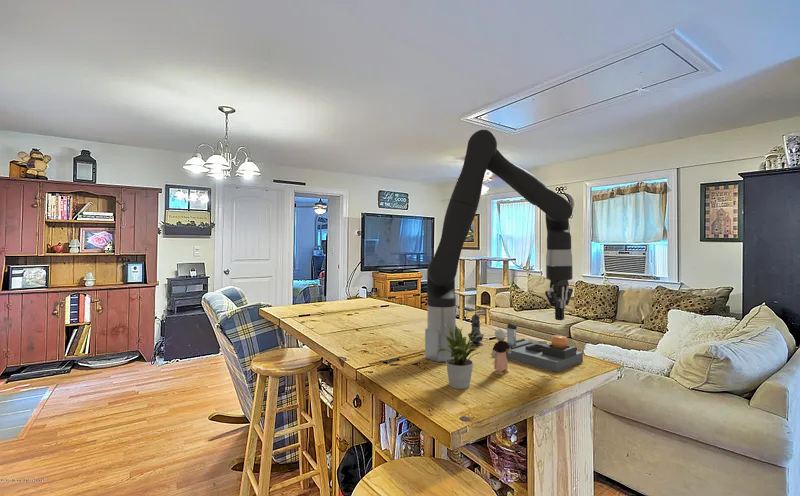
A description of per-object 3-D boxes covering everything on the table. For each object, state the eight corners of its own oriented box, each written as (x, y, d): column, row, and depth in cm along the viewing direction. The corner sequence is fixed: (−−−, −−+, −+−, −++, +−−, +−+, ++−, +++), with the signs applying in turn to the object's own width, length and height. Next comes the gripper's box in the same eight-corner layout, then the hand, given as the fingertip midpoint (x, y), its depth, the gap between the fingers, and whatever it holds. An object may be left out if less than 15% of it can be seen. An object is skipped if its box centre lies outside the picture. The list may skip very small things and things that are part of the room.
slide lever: (514, 347, 124) (514, 325, 124) (506, 345, 126) (506, 323, 126) (518, 346, 125) (518, 324, 125) (509, 344, 127) (509, 322, 127)
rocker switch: (538, 343, 119) (538, 340, 119) (527, 341, 122) (528, 338, 122) (546, 344, 122) (546, 341, 122) (536, 342, 125) (536, 339, 125)
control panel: (556, 372, 108) (556, 353, 108) (494, 355, 126) (494, 338, 126) (583, 361, 118) (583, 344, 118) (521, 347, 136) (521, 332, 136)
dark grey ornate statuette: (482, 342, 142) (482, 311, 142) (484, 346, 136) (484, 313, 136) (467, 342, 143) (467, 310, 143) (468, 346, 137) (468, 313, 137)
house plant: (418, 380, 102) (418, 320, 102) (458, 372, 109) (458, 316, 109) (450, 398, 90) (450, 330, 89) (493, 388, 96) (493, 324, 96)
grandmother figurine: (501, 368, 112) (501, 326, 112) (513, 371, 110) (513, 328, 109) (487, 374, 107) (487, 330, 107) (499, 377, 104) (499, 332, 104)
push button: (562, 349, 113) (562, 339, 113) (548, 346, 117) (548, 336, 117) (569, 347, 116) (569, 337, 116) (556, 344, 119) (556, 334, 119)
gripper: (558, 263, 123) (558, 315, 123) (536, 264, 115) (536, 320, 115) (581, 263, 117) (581, 318, 117) (559, 265, 109) (560, 324, 109)
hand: (559, 319), depth 116 cm, fingers closed
